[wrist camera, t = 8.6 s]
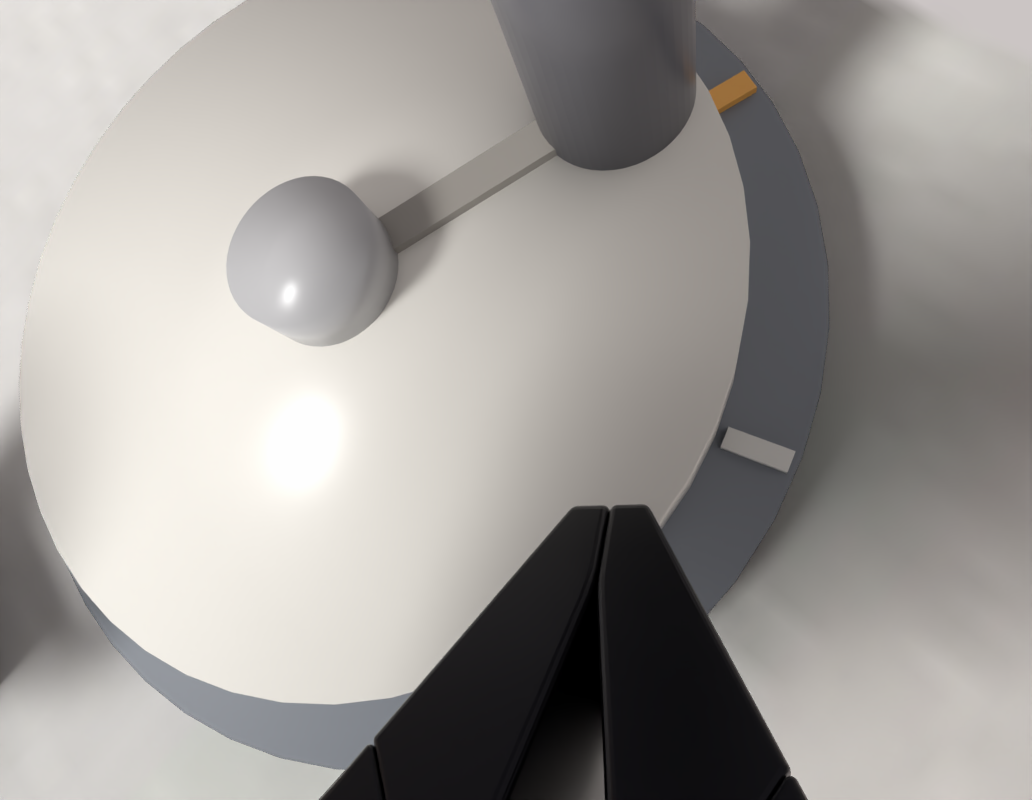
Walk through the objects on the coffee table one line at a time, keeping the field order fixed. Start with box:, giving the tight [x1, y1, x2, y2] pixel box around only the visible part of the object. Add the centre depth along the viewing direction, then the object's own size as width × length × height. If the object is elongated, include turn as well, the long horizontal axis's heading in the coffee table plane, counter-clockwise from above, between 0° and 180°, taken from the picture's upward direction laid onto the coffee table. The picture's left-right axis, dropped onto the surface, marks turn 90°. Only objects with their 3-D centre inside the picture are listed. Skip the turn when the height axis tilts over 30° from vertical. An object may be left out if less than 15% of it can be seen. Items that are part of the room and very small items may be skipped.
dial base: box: [67, 21, 829, 770], centre depth 15 cm, size 19×19×2 cm
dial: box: [19, 0, 750, 705], centre depth 10 cm, size 16×16×10 cm
